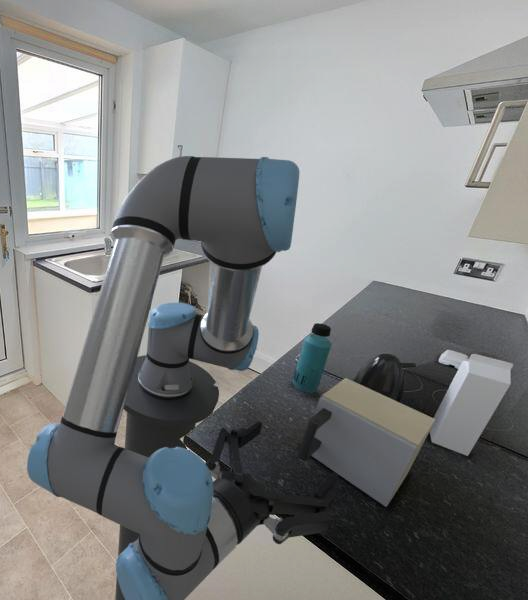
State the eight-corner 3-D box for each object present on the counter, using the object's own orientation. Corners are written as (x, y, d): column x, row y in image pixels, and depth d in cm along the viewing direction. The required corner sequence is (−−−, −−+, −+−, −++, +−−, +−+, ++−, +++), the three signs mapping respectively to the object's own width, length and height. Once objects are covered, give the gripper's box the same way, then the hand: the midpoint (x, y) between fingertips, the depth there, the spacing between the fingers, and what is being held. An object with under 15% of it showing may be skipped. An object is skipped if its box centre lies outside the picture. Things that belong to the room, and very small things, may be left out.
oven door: (372, 527, 52) (403, 467, 47) (286, 463, 63) (303, 408, 58) (388, 504, 56) (417, 446, 51) (304, 447, 67) (322, 395, 62)
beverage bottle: (319, 390, 87) (340, 326, 79) (312, 401, 82) (334, 334, 75) (294, 380, 91) (312, 317, 84) (286, 389, 86) (304, 324, 79)
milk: (467, 456, 67) (520, 370, 59) (430, 442, 71) (475, 359, 62) (462, 439, 72) (510, 358, 64) (427, 427, 75) (469, 347, 67)
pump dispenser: (399, 423, 76) (424, 370, 70) (349, 407, 80) (368, 357, 75) (391, 400, 84) (412, 351, 79) (346, 387, 89) (363, 340, 83)
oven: (388, 504, 56) (418, 445, 51) (304, 447, 67) (322, 394, 62) (407, 474, 62) (435, 419, 57) (327, 427, 73) (345, 377, 68)
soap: (441, 354, 110) (444, 346, 109) (468, 362, 105) (472, 355, 104) (437, 362, 105) (440, 354, 104) (465, 371, 100) (469, 363, 99)
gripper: (157, 472, 55) (231, 424, 66) (298, 630, 36) (366, 524, 48) (161, 439, 52) (238, 395, 64) (315, 592, 33) (383, 490, 45)
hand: (293, 451), depth 56 cm, fingers open, 13 cm apart
